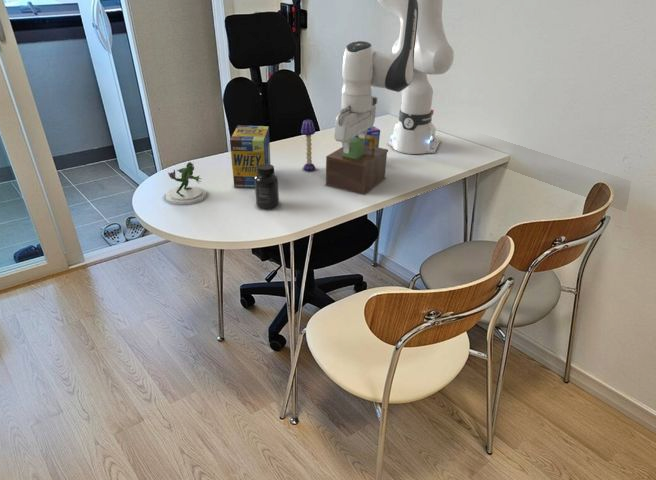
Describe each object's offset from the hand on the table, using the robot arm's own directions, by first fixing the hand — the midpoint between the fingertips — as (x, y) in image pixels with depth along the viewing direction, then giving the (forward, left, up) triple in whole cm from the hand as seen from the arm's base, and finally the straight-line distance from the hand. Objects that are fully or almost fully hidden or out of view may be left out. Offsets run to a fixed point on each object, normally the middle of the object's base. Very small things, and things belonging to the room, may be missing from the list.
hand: (354, 148), depth 155 cm
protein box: (+14, -30, -12) cm, 35 cm away
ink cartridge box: (-19, -6, -12) cm, 24 cm away
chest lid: (-3, 0, -3) cm, 4 cm away
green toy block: (0, 0, -2) cm, 2 cm away
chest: (-2, 0, -12) cm, 12 cm away
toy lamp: (-3, -19, -12) cm, 23 cm away
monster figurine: (+36, -39, -12) cm, 54 cm away
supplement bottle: (+28, -14, -12) cm, 33 cm away
